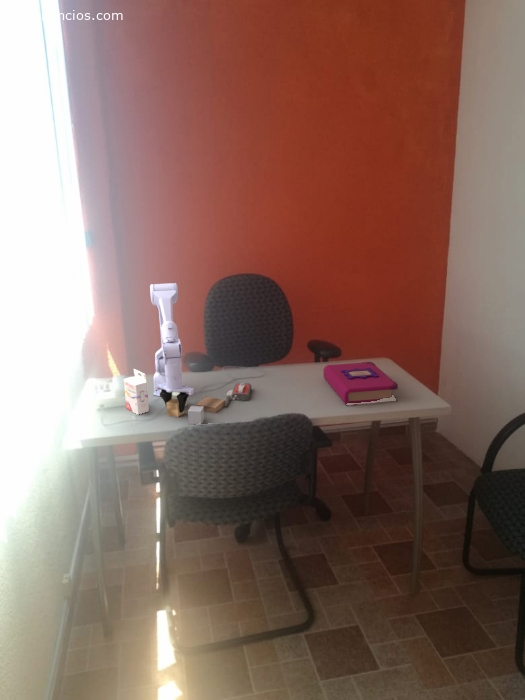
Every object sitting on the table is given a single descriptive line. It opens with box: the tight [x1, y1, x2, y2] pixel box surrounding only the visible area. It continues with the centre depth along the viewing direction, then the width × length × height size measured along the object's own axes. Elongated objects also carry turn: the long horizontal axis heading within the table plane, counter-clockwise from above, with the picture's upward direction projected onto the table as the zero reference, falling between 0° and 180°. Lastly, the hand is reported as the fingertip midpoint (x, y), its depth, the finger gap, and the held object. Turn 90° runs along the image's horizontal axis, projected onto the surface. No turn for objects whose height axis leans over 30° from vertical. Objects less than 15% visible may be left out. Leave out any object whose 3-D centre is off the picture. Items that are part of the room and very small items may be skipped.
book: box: [322, 361, 399, 405], centre depth 219 cm, size 21×28×8 cm
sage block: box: [172, 392, 188, 407], centre depth 206 cm, size 4×4×5 cm
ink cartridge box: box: [123, 368, 150, 416], centre depth 201 cm, size 9×5×15 cm, turn 44°
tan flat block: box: [195, 396, 226, 414], centre depth 205 cm, size 8×8×2 cm
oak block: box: [166, 398, 185, 418], centre depth 199 cm, size 4×4×5 cm
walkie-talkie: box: [224, 382, 252, 407], centre depth 213 cm, size 9×4×20 cm
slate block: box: [187, 405, 205, 425], centre depth 193 cm, size 4×4×5 cm
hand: (175, 410), depth 199 cm, fingers closed on oak block, 4 cm apart
